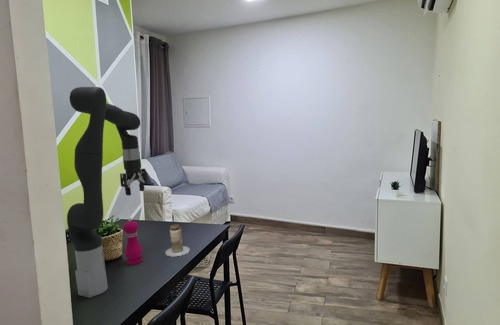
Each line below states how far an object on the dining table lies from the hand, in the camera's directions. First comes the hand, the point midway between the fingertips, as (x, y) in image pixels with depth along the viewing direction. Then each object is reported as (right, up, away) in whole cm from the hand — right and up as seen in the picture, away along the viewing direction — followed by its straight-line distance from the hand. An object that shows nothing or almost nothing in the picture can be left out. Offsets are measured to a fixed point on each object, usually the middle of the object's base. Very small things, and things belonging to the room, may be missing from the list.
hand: (135, 193), depth 163 cm
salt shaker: (+19, -27, 0) cm, 33 cm away
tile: (+20, -27, 0) cm, 34 cm away
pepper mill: (+2, -30, -8) cm, 31 cm away
